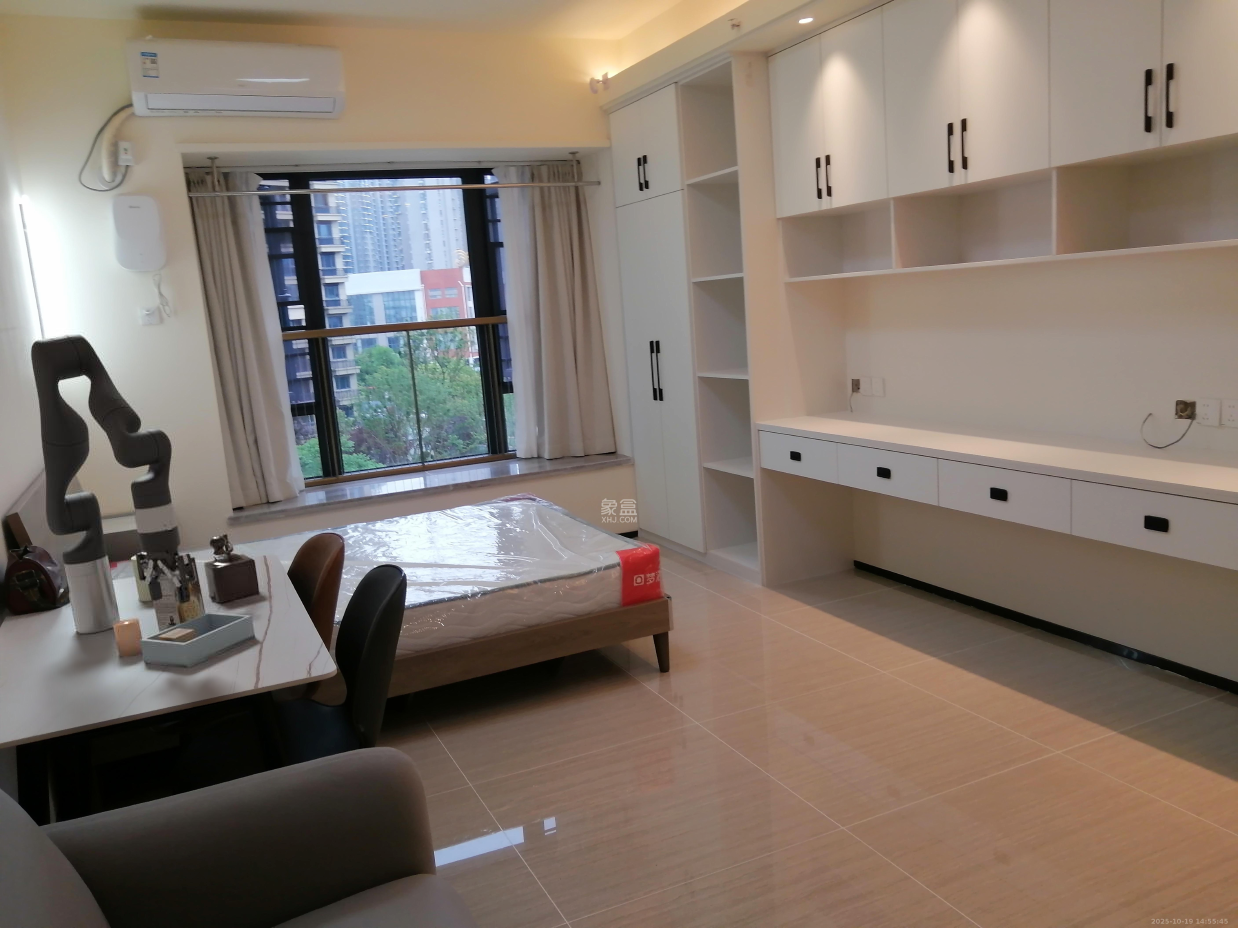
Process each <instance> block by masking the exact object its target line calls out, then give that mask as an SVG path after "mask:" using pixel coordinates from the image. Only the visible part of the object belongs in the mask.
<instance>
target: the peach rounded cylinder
mask: <svg viewBox="0 0 1238 928" xmlns="http://www.w3.org/2000/svg"><path fill="white" fill-rule="evenodd" d="M113 631H114V636H115V641H116V645H117V651H118V656H119V657H121V658H129V657H133V656H137V655H139V654H143V653H142V648H141V643H140V640H141V639H143V635H142V629H141V624H140V619H138V618H127V619H123V620H120V621H119V622H117V623H115V624H114V625H113Z"/></svg>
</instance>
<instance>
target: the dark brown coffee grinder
mask: <svg viewBox="0 0 1238 928" xmlns="http://www.w3.org/2000/svg"><path fill="white" fill-rule="evenodd" d="M228 537H229V534H227V533H224V534H222V535H215V536H213V537H211V538H210V541H209V546H210V547H211V548H213V555H214V556H213V558H214V559H213V560H211V561H206V562H205V561H204V563H203V565H204V566H203V567H204V572H205V577H206V579H205V580H206V584H207V588H208V597H209V598H210V599H211V600H212V601H214V602H216V603H219V604H223V603H229V602H234V601H238V600H242V599H246V598H249V597H253V596H257V595H260V588H259V580H258V573H257V565H256V561H255V559H253V558H251V557H249V556H247V555H246V554H243V553H241V554H239V553H234V549H235V548H234V546H233V544H231V542H230V541H229V538H228ZM232 552H233V553H232ZM215 556H217V557H215Z"/></svg>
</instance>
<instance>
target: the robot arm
mask: <svg viewBox="0 0 1238 928" xmlns="http://www.w3.org/2000/svg"><path fill="white" fill-rule="evenodd" d="M30 349H31V350H30V357H31V358H30V359H31V365H32V372H33V375H34V381H35V387H36V388H35V389H36V392H37V393H36V394H37V399H38V404H39V414H40V415H39V417H40V437H41V447H42V448H41V449H42V455H43V463H44V464H43V465H44V471H45V515H46V522H47V526H48V529H49V531H50V532H51V533H52V534H54V535H55V536H57V537H58V536H67V535H72V534H77V533H81V532H82V533H83V532H85V534H84V536H83V537H82V538H81V539H80V540H79V541H78V542H76V543H75V544H73V545H72V546H70V547H68V548H66V549H65V550H64V551H63V552H62V560H63V561H62V562H63V565H64V570H65V574H66V579H67V584H68V589H69V593H68V597H69V601H70V606H71V611H72V617H73V620H74V626H75V630H76V631H77V632H78V633H79V634H84V635H85V634H94V633H99V632H104V631H106V630H110V629H114V627H113V625H114V624H115V623H117V622H119V621H121V618H120V611H119V607H118V602H117V597H116V591H115V586H114V582H113V577H112V576H113V575H112V572H111V567H110V562H109V561H110V560H109V556H108V552H107V547H106V540H105V535H104V529H103V521H102V514H101V508H100V503H99V500H98V498H97V496H96V495H95V493H94V492H92V491H83V492H77V493H71V494H66V493H67V490H68V488H69V485H70V484H71V482H72V481H73V479H74V477H75V476H76V475H77V473H79V471H80V470H81V468H83V466H84V464H85V463H86V461H87V459H88V456H89V454H90V434H89V433H90V432H89V426H88V424H87V423H86V420H85V419H83V417H82V416H81V415H80V414H79V413H78V412H77V411H76V410H75V409H74V408H73V407H72V406H70V404H69V403H68V402H67V401H66V400H65V399H64V398H63V396H62V395H61V393H60V390H59V383H60V381H64V380H69V379H74V378H79V377H83V376H85V377H86V378H87V379H89V381H90V388H89V394H88V400H87V401H88V402H87V403H88V409H89V413H90V415H91V417H93V420H95V422H96V423H97V424H98V426H100V428H101V429H102V430H103V431H104V433H105V434H106V437H107V440H108V441H109V444H110V446H111V449H112V452H113V457H114V459H115V460H116V462H117V463H118V464H119V465H121V466H122V467H124V468H126V469H136V468H140V467H146V466H148V469H147V472H146V473H145V474H144V475H142V476H141V477H138V478H136V479H135V480H133V481H132V482H131V484H130V491H131V496H132V502H133V508H134V520H135V525H136V526H135V527H136V531H137V536H138V541H139V547H140V550H141V552H139V553H136V554H135V555H136V560H137V567H138V574H139V579H140V580H141V581H143V580H144V581H145V582H146V584H148V586H149V592H150V596H151V600H152V601H151V602H153V601H157V600H159V599H162V597H163V596H162V590H161V585H160V582H159V578H160V576H161V574H163V575H167V576H168V578H169V579H172V580H173V581H174V582H175V584H176V585H177V586H178V587H176V588H177V594H178V599H179V603H182V604H184V603H186V602H189V601H190V592H189V586H188V584H189V583H190V582H192V581H195V575H194V570H193V566H192V561H191V557H192V556H191V554H190V553H189V552H187V553H186V552H185V553H183V554H180V553H179V551H178V547H179V546H180V545H181V543H182V542H181V537H180V532H179V527H178V521H177V515H176V512H175V508H174V505H173V501H172V500H173V499H172V495H171V491H170V486H169V485H170V483H169V482H170V469H171V461H172V449H173V448H172V443H171V440H170V438H169V436H168V435H167V434H166V433H165V432H164V431H163V430H161V429H158V428H153V429H147V430H141V427H142V420H141V417H140V416H139V414H138V413H137V412H136V411H135V410H134V408H132V406H131V405H130V404H129V403H128V401H127V400H126V399H125V398H124V397H123V396H122V394H121V393H120V392H119V390H118V389H117V388H116V385H115V384H114V382H113V380H112V378H111V376H110V374H109V373H108V371H107V369H106V368H105V365H104V364H103V362H102V361H101V359H100V357H99V356H98V354H97V352H96V350H95V349H94V347H93V345H91V343H90V342H89V341H88V339H86V337H84V336H83V335H81V334H80V333H79V334H78V333H71V334H69V333H68V334H64V335H57V336H52V337H47V338H46V337H45V338H41V339H37V340H35V341H34V342H33V343H32V345H31V348H30ZM140 430H141V431H140ZM144 569H146V570H147V572H146V574H144ZM176 569H178V570H179V571H176ZM175 571H176V572H175ZM187 571H188V575H189V577H187V575H186V572H187ZM178 576H180V577H181V580H180V579H179V578H178Z"/></svg>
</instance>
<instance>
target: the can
mask: <svg viewBox="0 0 1238 928" xmlns="http://www.w3.org/2000/svg"><path fill="white" fill-rule="evenodd" d="M130 560H131V564H132V568H133V573H134V579H135V585H136V589H137V595H138V596H137V597H138V599H137V600H138V601H140V602H153V601H152V600H151V596H150V592H149V586H148V584H146V582H145V581H144V580H143V581H141V580H140V579H139V574H138V567H137V560H136V554H135V555H134V556H132V557H131V558H130ZM146 572H147V570H146V569H144V574H146Z"/></svg>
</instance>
